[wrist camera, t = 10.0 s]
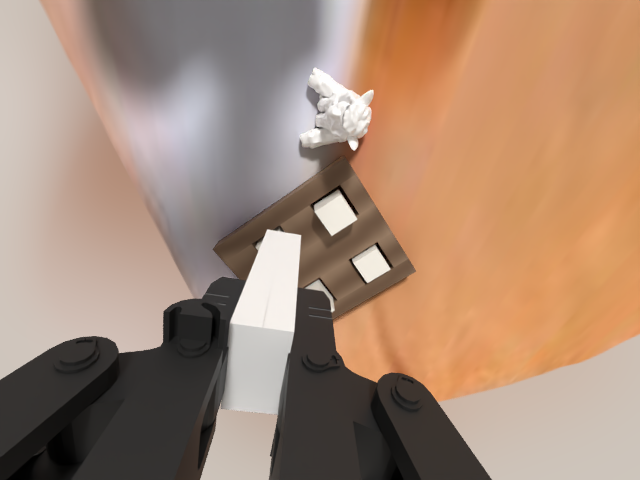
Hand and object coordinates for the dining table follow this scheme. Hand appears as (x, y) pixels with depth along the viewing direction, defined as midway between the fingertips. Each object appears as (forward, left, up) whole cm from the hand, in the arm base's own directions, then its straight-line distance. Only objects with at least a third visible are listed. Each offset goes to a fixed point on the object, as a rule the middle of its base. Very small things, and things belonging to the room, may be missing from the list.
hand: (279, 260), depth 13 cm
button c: (+7, +1, -28) cm, 29 cm away
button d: (+17, +1, -30) cm, 35 cm away
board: (+12, -5, -30) cm, 33 cm away
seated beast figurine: (-3, +8, -31) cm, 32 cm away
